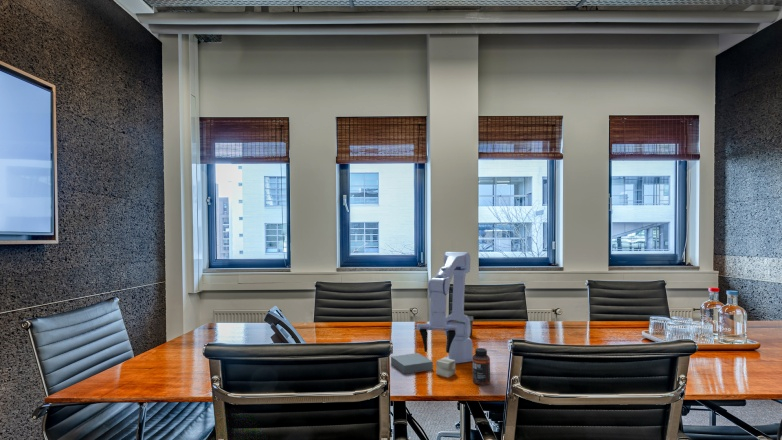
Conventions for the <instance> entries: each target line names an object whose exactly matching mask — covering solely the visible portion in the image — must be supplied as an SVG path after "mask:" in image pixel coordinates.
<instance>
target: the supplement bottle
mask: <svg viewBox="0 0 782 440" xmlns="http://www.w3.org/2000/svg"><path fill="white" fill-rule="evenodd" d="M474 352H475V354H473V361H472V382H473V383H474V384H476V385H479V386H485V385H489V384H490V383H491V359H490V358H491V357H490V356H489V355H488V349H487V348H483V347H477V348H475V351H474Z"/></svg>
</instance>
